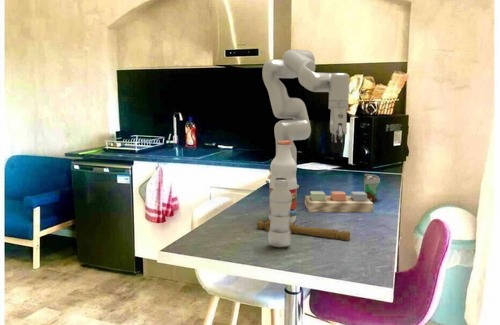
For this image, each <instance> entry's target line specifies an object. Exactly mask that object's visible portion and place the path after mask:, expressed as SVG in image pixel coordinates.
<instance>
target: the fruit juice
mask: <svg viewBox="0 0 500 325" xmlns="http://www.w3.org/2000/svg"><path fill="white" fill-rule="evenodd" d="M277 146H278V150H277V154H276V153H275V156H274V158H273V159H272V160H271V162H270V165H269V166H270V173H271V176H270V178H269V179H270V183H269V196H270V193H271V192H272V190H273V189H274V188H275V185H274V179H275V178H287V180H288V186H287V188H288V189H289V191H290V192H291V194H292V203H291V209H290V219H289V221H290V223H293V224H294V223H295V222H296V221H297V220H296V219H297V193H298V192H297V191H298V189H297V184H298V182H297V176H296V177H295V174H296V175H297V169H298V165H297V161H296V162H295V160H294V159H293V157H292V154H291V150H290V147H291V141H287V140H279V141H277ZM268 199H269V198H268ZM268 205H269V206H268V221H269V220H271V208H270V199H269V200H268Z"/></svg>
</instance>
